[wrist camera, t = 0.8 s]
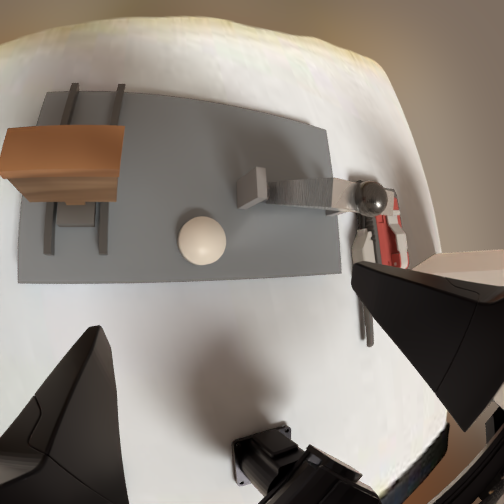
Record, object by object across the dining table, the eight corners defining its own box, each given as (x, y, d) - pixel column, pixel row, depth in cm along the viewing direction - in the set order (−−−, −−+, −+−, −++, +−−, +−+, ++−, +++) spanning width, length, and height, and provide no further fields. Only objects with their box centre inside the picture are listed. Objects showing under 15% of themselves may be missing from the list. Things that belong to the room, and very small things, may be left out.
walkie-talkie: (336, 182, 33) (355, 347, 32) (362, 171, 29) (383, 353, 28) (380, 186, 37) (396, 328, 36) (404, 178, 33) (422, 331, 32)
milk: (435, 253, 42) (568, 235, 19) (443, 314, 42) (569, 313, 19) (403, 274, 37) (574, 258, 14) (412, 345, 37) (567, 355, 14)
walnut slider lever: (117, 227, 19) (117, 188, 11) (39, 227, 16) (-7, 191, 8) (120, 174, 19) (127, 110, 11) (45, 174, 17) (12, 112, 9)
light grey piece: (323, 212, 28) (413, 222, 18) (251, 206, 24) (338, 212, 15) (325, 188, 27) (416, 190, 18) (253, 178, 24) (341, 168, 14)
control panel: (328, 274, 30) (367, 271, 25) (25, 283, 17) (0, 283, 12) (315, 136, 31) (347, 116, 26) (49, 104, 18) (41, 67, 13)
